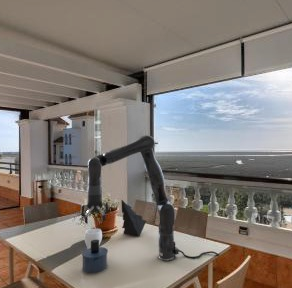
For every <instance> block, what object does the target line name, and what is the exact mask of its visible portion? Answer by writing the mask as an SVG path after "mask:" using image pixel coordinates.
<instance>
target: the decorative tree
mask: <svg viewBox="0 0 292 288" xmlns="http://www.w3.org/2000/svg"><path fill="white" fill-rule="evenodd" d="M120 200H121V202H120V203H121V213H122V221H123V222H122V223H123V224H122V226H121V228H122V229H123V233H122V235H124V236H130V237H131V236H132V237H137V238H140V236H141V234H142V232H143V230H144V227H145V225H146V223H147V220H145V219H143V216H142V215H140V214H137V212H136V211H134V210H133V209H132V206H130V205H129V204H127V203H126V202H125V201H124V200H123V199H120Z"/></svg>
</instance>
